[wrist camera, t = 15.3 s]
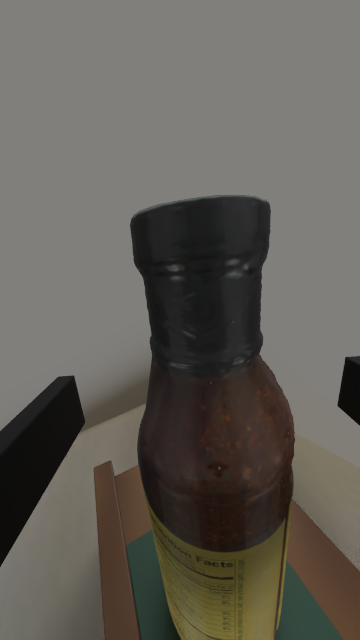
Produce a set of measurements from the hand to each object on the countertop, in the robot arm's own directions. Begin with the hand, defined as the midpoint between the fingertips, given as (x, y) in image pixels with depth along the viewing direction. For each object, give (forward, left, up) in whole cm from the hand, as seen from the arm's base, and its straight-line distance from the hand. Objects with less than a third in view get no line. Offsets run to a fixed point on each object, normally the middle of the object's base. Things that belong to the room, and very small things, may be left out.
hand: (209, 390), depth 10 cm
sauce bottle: (+1, +1, -13) cm, 13 cm away
